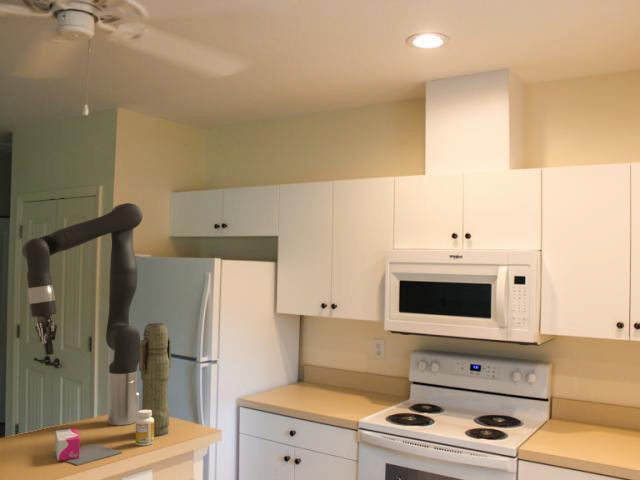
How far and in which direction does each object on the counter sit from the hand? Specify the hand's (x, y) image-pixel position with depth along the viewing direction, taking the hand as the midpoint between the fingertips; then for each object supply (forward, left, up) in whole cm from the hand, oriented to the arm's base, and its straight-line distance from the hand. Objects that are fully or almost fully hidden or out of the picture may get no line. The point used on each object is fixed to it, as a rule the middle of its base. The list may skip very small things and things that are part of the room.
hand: (49, 354), depth 199 cm
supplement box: (+5, +19, -22) cm, 30 cm away
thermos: (-22, +25, -26) cm, 42 cm away
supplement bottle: (-13, +32, -26) cm, 43 cm away
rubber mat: (+4, +28, -25) cm, 38 cm away
